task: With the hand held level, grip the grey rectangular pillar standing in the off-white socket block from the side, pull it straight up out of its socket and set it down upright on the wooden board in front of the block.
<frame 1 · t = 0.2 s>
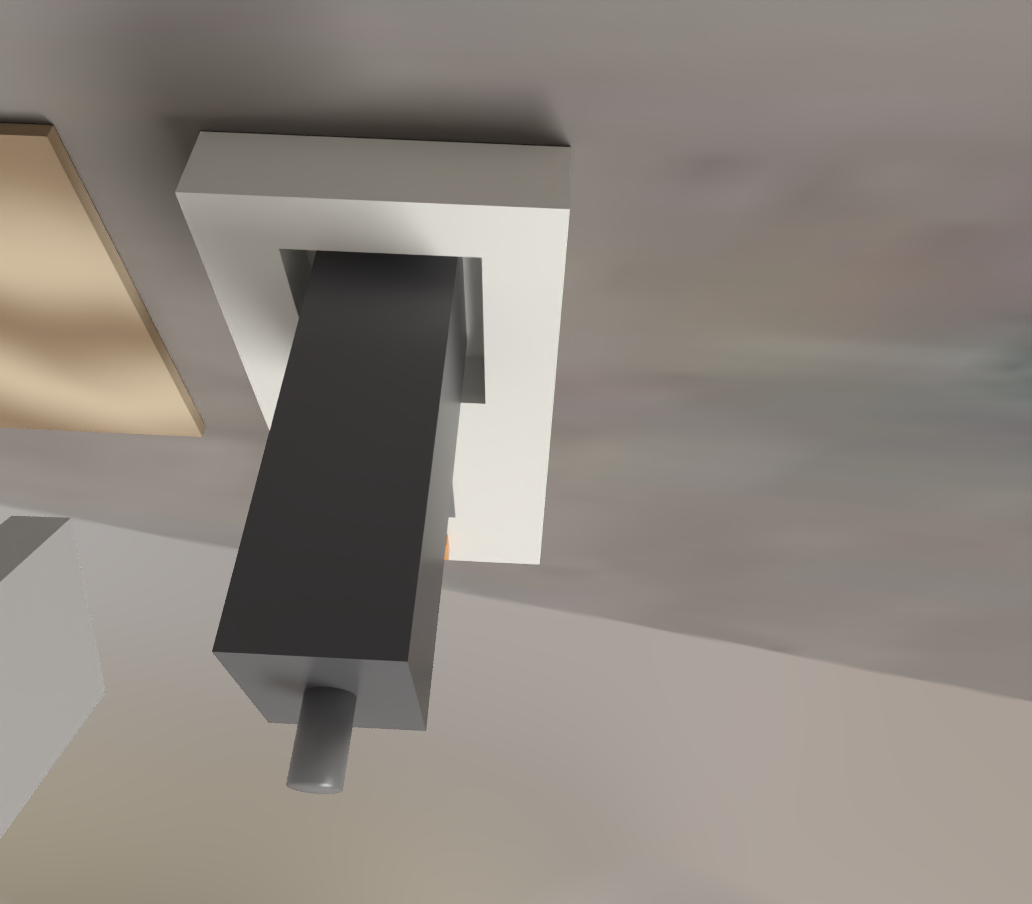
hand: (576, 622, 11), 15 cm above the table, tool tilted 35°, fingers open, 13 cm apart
grey rectangular pillar: (401, 286, 26), resting on socket block
socket block: (416, 375, 31), on the table
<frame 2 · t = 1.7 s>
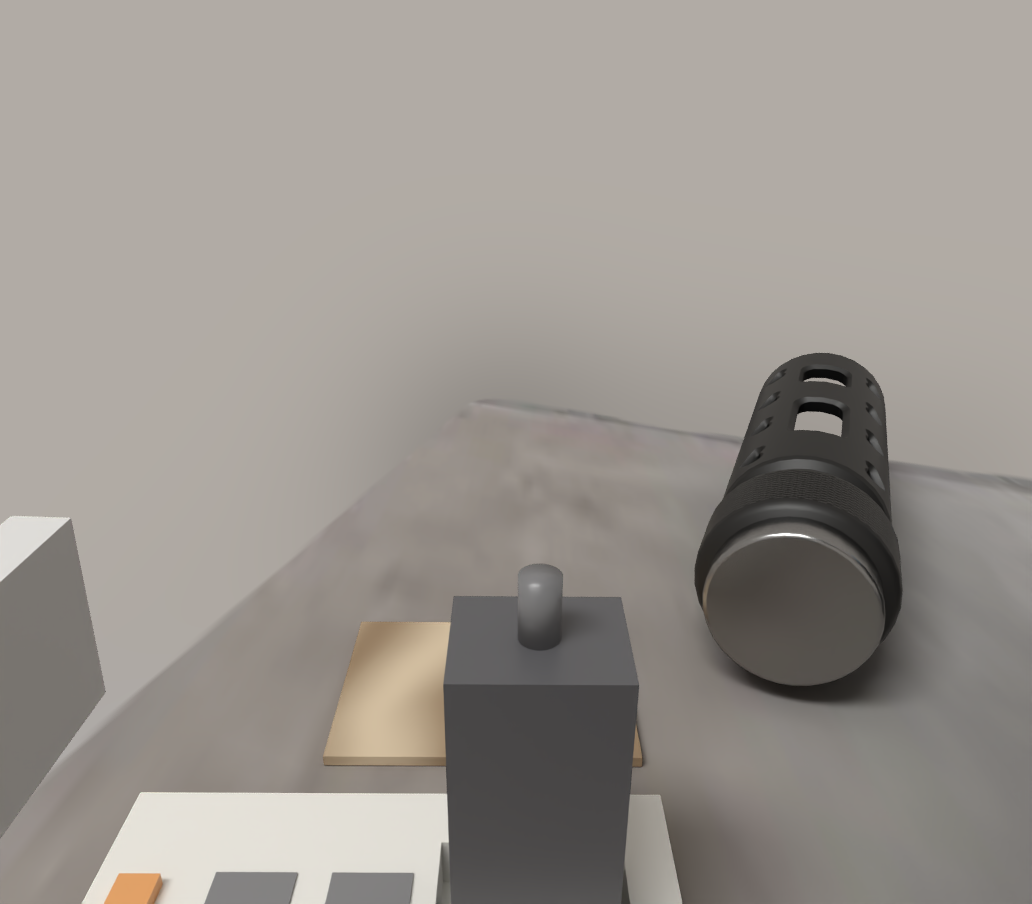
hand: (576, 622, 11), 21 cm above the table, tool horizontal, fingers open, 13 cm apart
wooden board: (486, 690, 41), on the table
muzzle brake: (794, 570, 53), on the table
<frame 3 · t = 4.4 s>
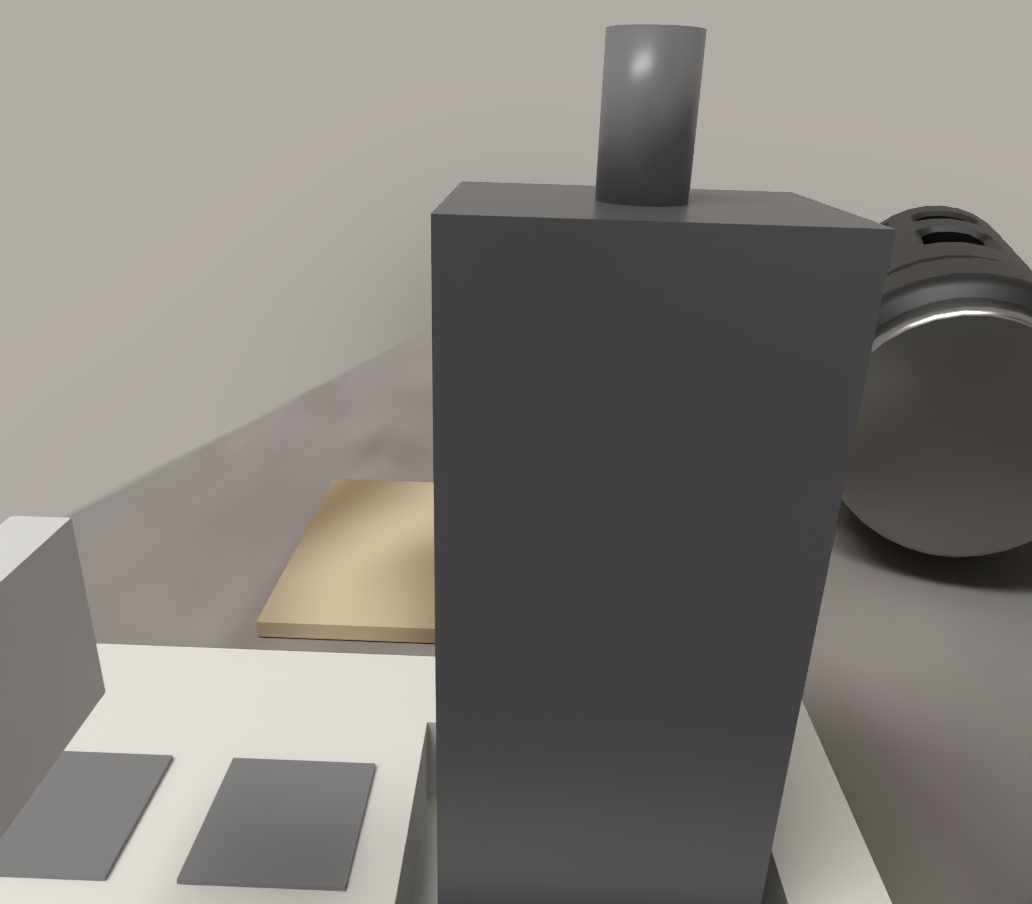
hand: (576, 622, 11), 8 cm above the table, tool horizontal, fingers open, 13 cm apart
wooden board: (503, 559, 29), on the table
muzzle brake: (908, 454, 40), on the table
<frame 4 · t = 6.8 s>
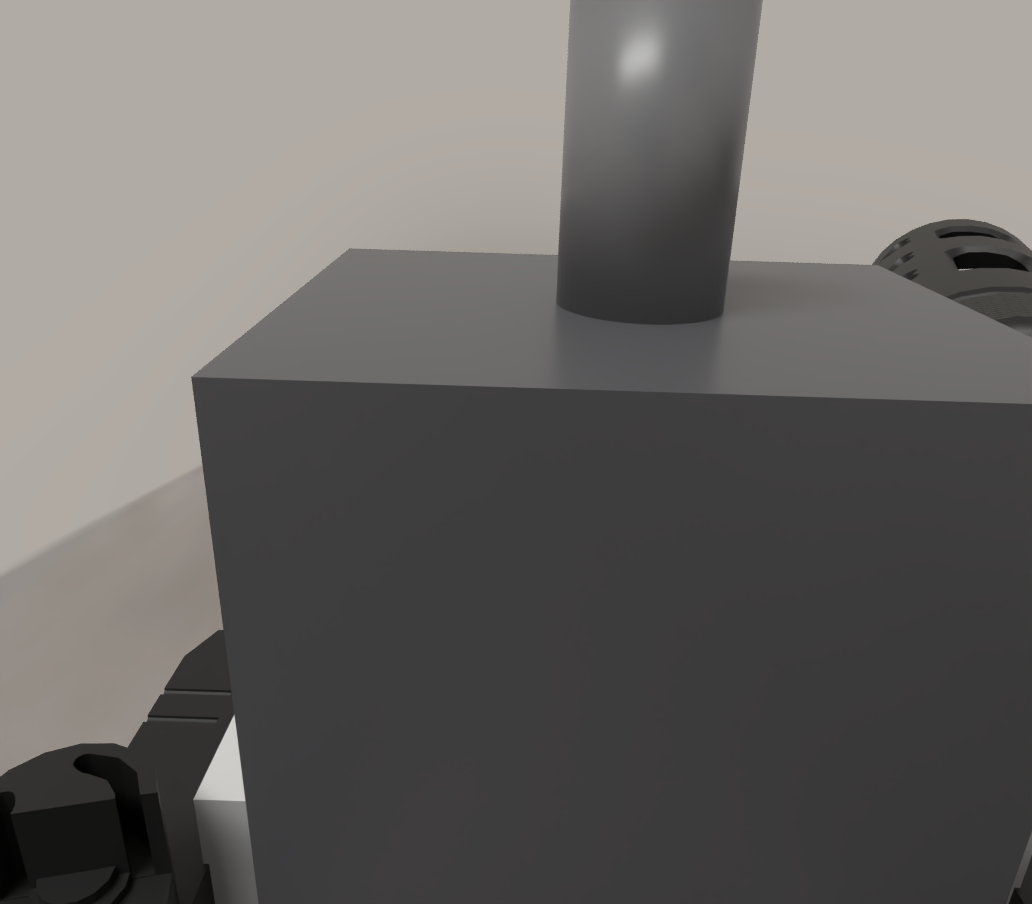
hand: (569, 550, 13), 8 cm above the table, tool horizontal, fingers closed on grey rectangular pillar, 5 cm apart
muzzle brake: (939, 504, 35), on the table
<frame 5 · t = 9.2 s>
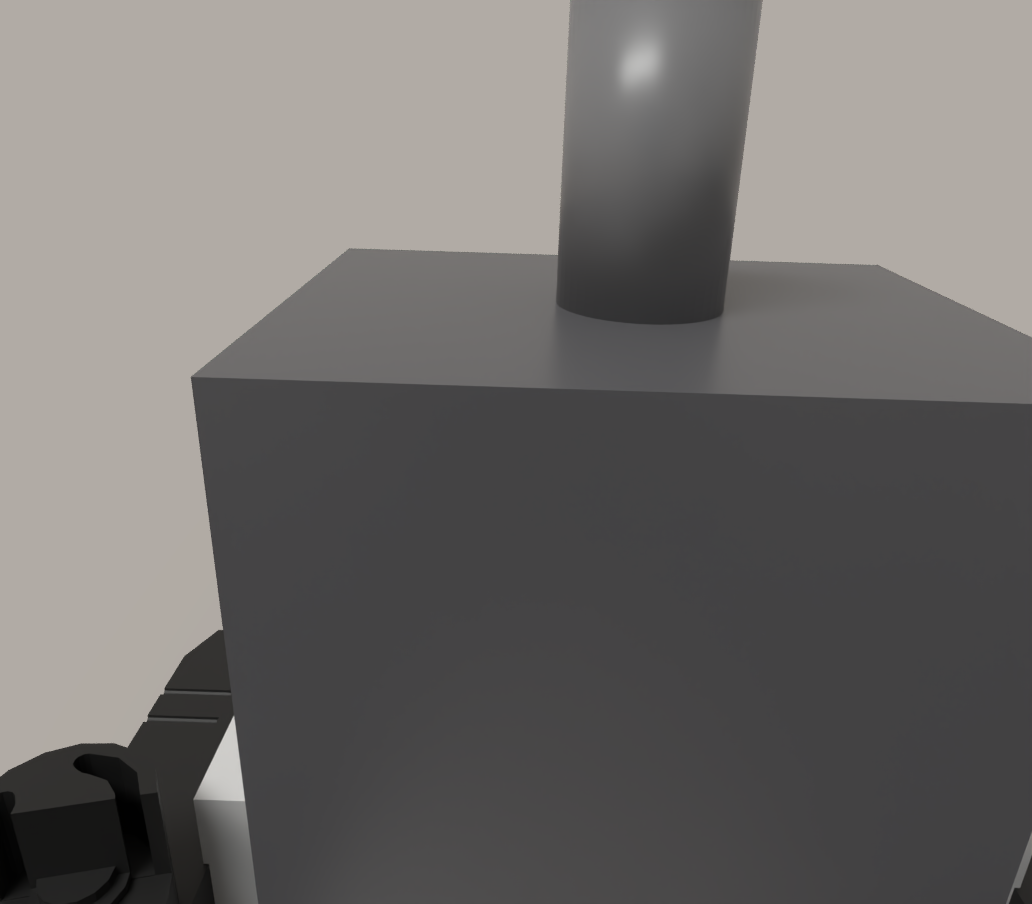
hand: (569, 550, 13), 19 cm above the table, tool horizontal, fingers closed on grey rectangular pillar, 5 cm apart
when the fingers open (9 cm above the table, at t = 11.6 s): grey rectangular pillar stays where it is, resting on wooden board.
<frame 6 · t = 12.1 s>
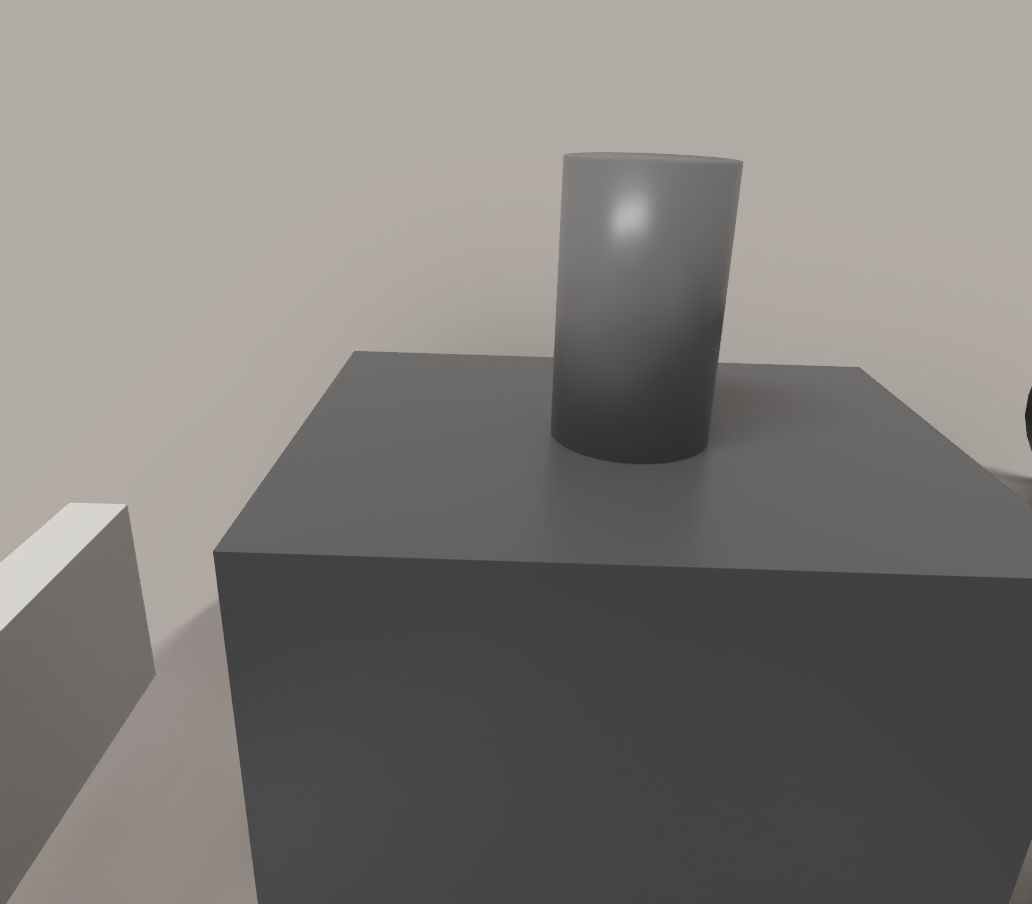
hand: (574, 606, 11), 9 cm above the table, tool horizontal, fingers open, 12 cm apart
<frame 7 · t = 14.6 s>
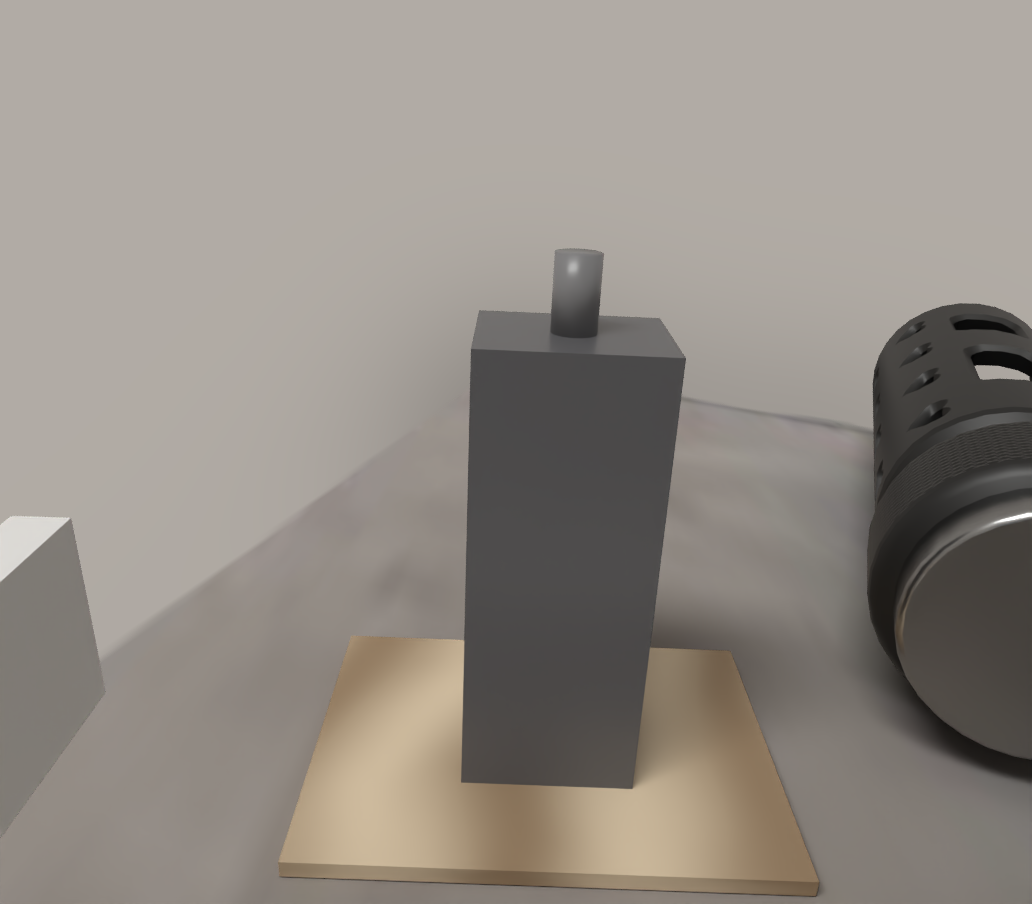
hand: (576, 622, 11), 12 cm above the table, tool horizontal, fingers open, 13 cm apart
wooden board: (543, 750, 26), on the table
grey rectangular pillar: (545, 738, 26), resting on wooden board
muzzle brake: (955, 584, 38), on the table
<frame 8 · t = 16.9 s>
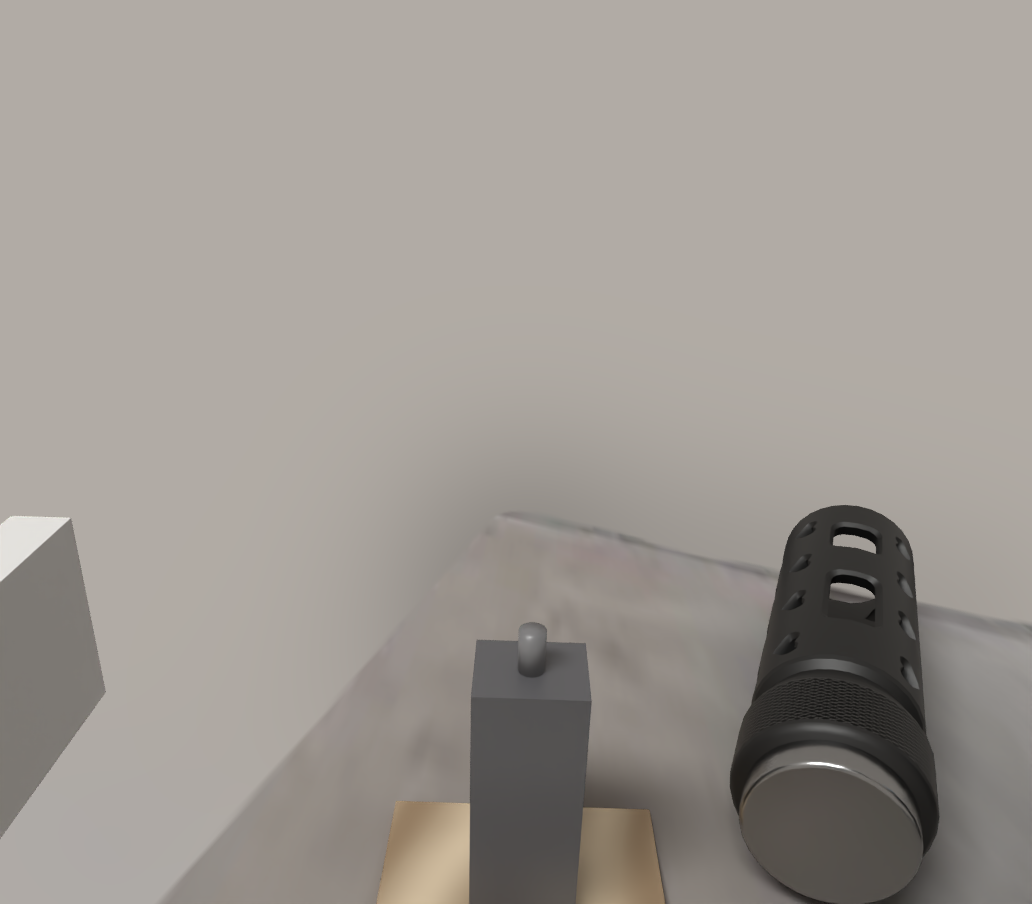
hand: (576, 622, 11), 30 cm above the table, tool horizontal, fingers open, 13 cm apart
wooden board: (521, 890, 42), on the table
grey rectangular pillar: (521, 883, 42), resting on wooden board
muzzle brake: (823, 740, 53), on the table
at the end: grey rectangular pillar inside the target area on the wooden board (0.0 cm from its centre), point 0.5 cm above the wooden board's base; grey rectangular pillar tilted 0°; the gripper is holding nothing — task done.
